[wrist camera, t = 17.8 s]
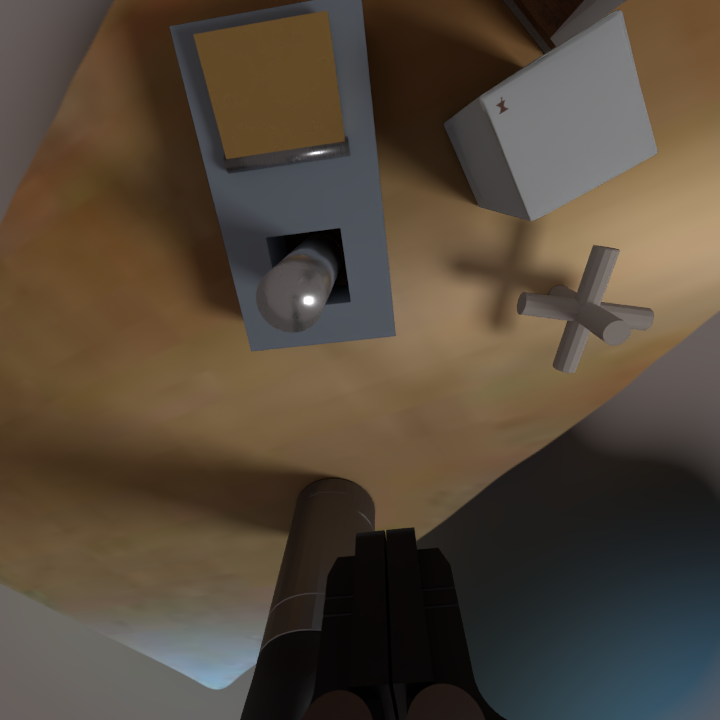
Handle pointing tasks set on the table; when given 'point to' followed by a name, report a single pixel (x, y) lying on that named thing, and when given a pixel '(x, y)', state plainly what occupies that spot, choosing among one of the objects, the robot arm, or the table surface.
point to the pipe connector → (586, 310)
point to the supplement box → (556, 125)
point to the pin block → (301, 190)
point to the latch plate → (274, 92)
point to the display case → (558, 18)
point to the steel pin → (300, 284)
